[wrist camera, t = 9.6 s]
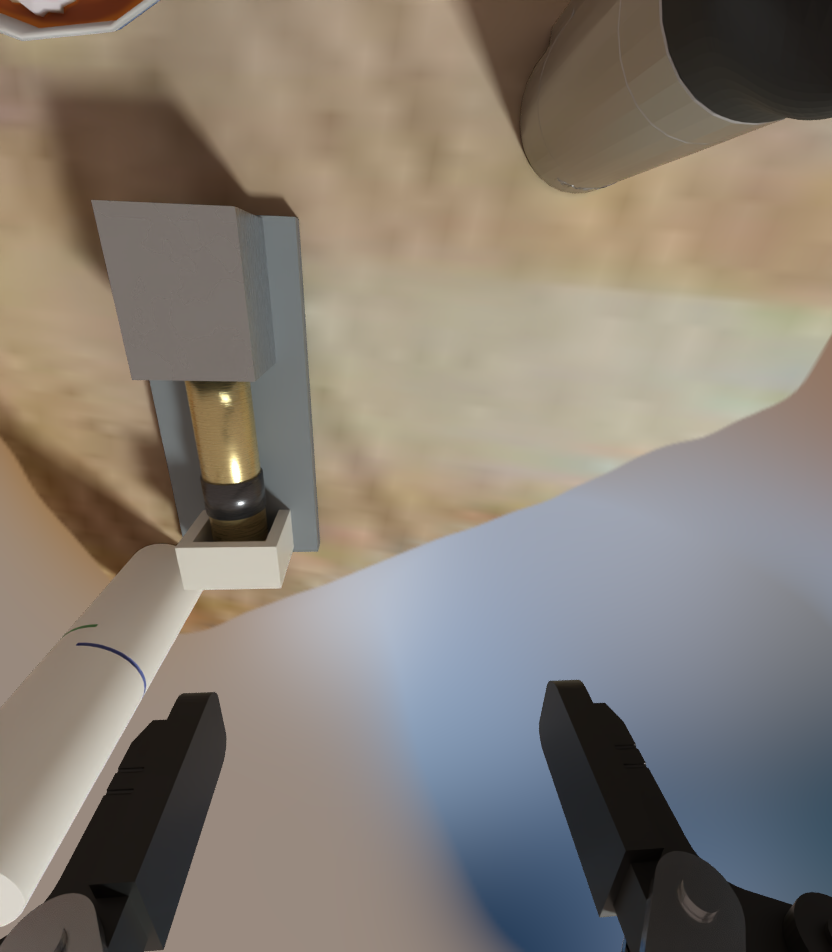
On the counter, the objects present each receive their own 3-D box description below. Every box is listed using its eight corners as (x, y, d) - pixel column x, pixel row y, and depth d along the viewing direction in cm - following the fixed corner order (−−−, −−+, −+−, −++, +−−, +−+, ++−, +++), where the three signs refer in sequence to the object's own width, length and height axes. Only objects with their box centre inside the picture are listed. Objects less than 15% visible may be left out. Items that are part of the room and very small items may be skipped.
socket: (202, 510, 40) (174, 548, 34) (290, 509, 40) (276, 546, 35) (209, 548, 42) (184, 590, 36) (293, 547, 42) (281, 588, 37)
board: (124, 211, 32) (112, 208, 30) (298, 219, 33) (295, 216, 31) (192, 544, 43) (186, 553, 42) (319, 542, 44) (318, 551, 42)
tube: (188, 325, 34) (161, 333, 29) (253, 327, 34) (235, 335, 30) (223, 533, 41) (205, 563, 37) (276, 532, 41) (264, 562, 37)
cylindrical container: (204, 607, 46) (31, 935, 23) (129, 598, 45) (-129, 932, 22) (208, 550, 43) (16, 858, 21) (128, 538, 42) (-168, 849, 19)
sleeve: (147, 213, 30) (91, 199, 24) (262, 218, 31) (234, 206, 25) (175, 361, 35) (132, 379, 29) (276, 362, 35) (255, 381, 29)
